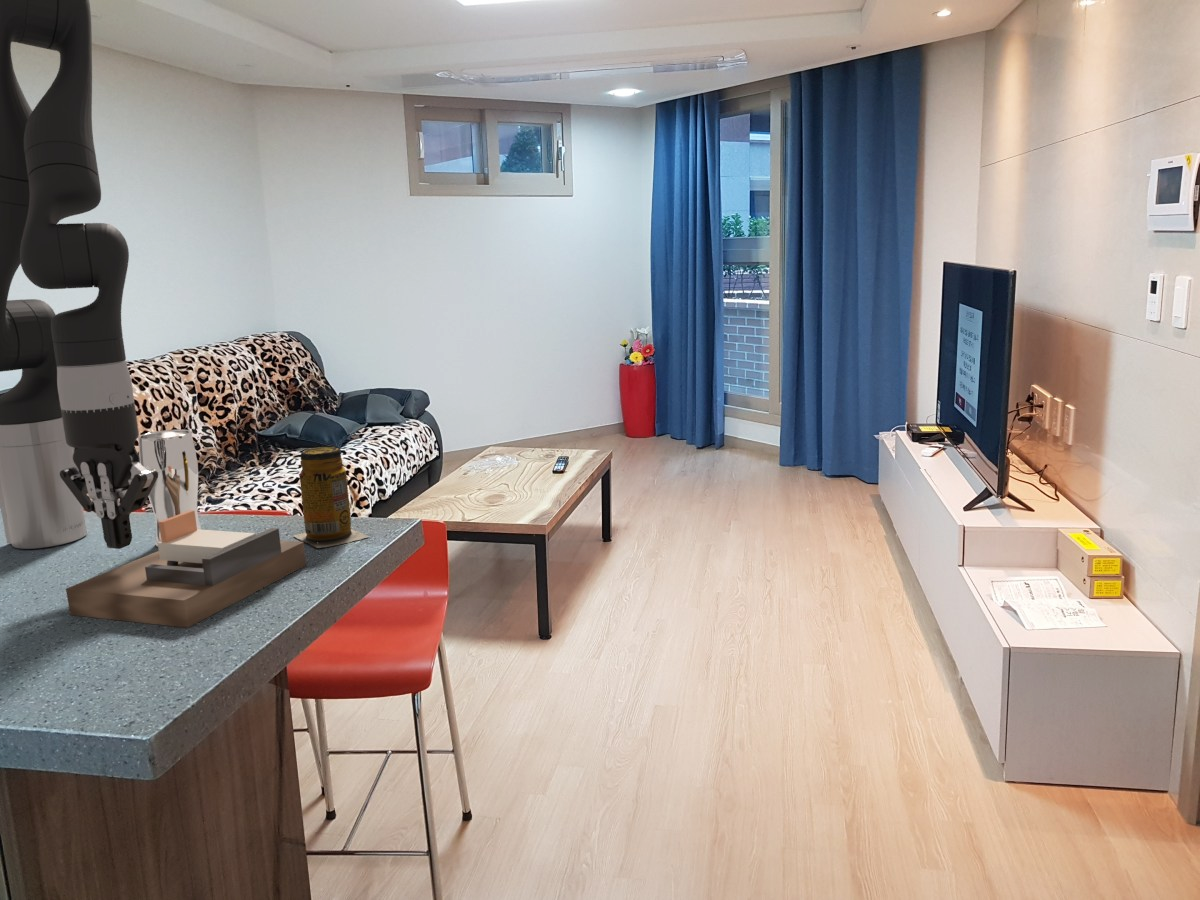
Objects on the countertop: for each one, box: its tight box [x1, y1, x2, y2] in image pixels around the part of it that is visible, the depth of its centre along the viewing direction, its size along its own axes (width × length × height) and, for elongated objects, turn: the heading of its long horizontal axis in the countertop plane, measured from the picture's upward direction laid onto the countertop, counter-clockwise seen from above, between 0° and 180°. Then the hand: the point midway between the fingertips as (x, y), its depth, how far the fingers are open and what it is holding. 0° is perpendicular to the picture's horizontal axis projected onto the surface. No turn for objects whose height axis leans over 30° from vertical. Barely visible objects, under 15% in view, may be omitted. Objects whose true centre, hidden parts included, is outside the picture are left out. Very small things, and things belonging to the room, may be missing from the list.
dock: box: [65, 527, 307, 629], centre depth 108 cm, size 16×20×6 cm
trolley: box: [157, 510, 257, 566], centre depth 107 cm, size 9×6×6 cm, turn 71°
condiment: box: [293, 446, 370, 549], centre depth 126 cm, size 7×8×12 cm
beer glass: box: [137, 429, 203, 548], centre depth 126 cm, size 7×7×15 cm
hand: (119, 546), depth 111 cm, fingers closed
